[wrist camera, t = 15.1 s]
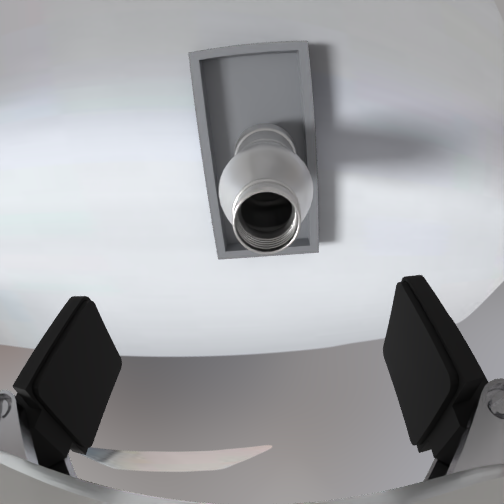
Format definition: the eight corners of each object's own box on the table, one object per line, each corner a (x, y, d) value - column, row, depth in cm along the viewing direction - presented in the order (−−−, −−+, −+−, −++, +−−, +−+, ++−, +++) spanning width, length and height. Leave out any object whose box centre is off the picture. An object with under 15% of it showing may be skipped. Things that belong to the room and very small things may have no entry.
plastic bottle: (298, 125, 32) (340, 167, 15) (290, 183, 35) (315, 283, 18) (239, 118, 32) (207, 151, 15) (233, 176, 35) (201, 271, 18)
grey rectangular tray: (193, 55, 29) (188, 52, 27) (304, 44, 28) (307, 40, 26) (220, 249, 41) (218, 259, 38) (315, 242, 40) (318, 252, 37)
